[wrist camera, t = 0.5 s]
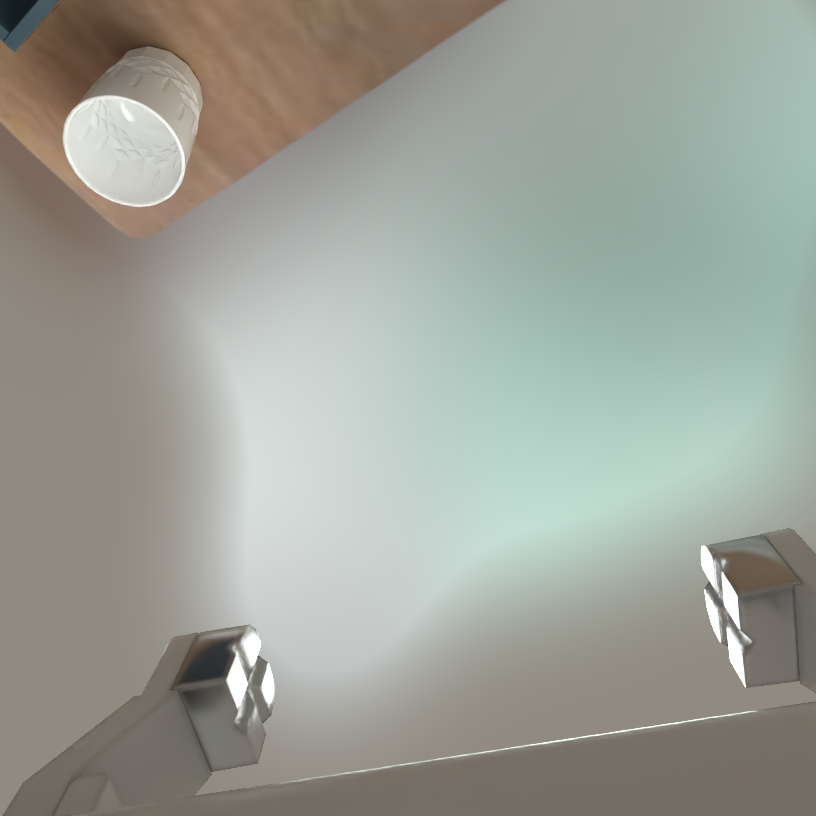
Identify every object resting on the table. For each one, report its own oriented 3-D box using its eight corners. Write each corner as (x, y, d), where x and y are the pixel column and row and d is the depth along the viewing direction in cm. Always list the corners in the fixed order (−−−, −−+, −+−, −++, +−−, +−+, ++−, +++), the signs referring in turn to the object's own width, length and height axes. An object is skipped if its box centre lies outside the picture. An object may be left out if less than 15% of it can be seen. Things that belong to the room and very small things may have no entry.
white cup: (151, 13, 54) (113, 70, 47) (233, 101, 58) (209, 165, 51) (82, 81, 57) (37, 143, 50) (164, 159, 62) (133, 226, 55)
